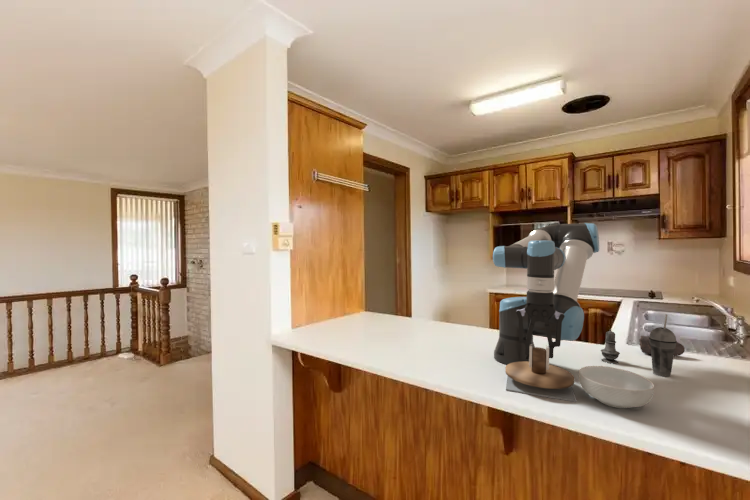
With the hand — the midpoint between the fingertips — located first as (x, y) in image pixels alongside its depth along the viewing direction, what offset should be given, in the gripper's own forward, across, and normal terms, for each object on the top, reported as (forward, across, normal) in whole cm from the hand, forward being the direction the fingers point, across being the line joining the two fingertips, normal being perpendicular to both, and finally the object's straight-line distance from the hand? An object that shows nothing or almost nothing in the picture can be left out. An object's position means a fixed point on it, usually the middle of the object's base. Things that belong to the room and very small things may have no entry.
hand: (538, 366), depth 107 cm
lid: (+3, 0, 0) cm, 3 cm away
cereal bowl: (+6, +19, -4) cm, 20 cm away
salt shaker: (+5, +25, +34) cm, 43 cm away
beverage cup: (+5, +38, +26) cm, 46 cm away
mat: (+5, 0, 0) cm, 5 cm away
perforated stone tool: (+5, +45, +51) cm, 68 cm away
